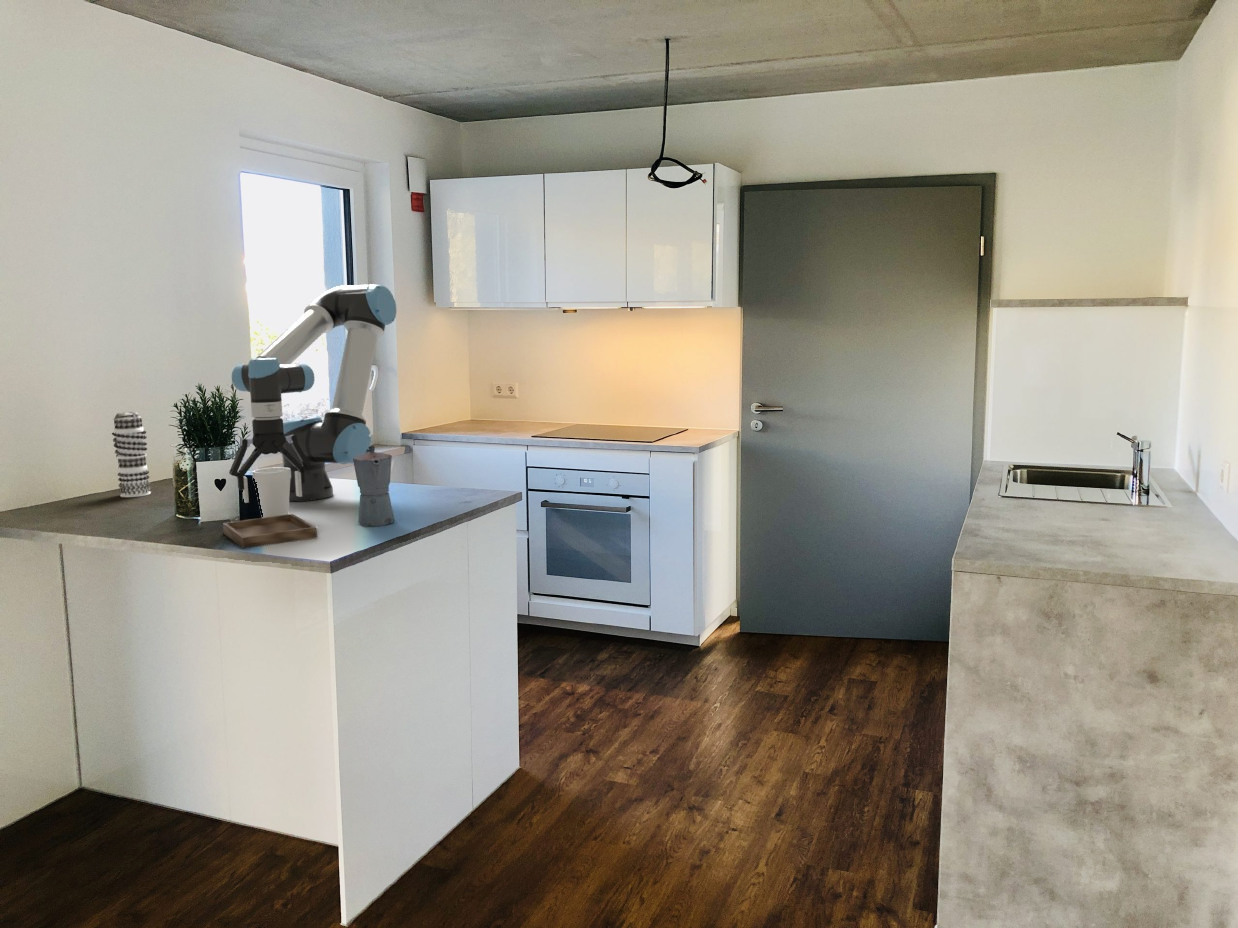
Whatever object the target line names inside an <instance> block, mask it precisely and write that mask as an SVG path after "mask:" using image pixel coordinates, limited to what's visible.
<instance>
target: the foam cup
mask: <svg viewBox="0 0 1238 928" xmlns="http://www.w3.org/2000/svg"><path fill="white" fill-rule="evenodd" d="M251 473H252V474H251V475H252V479H253V478H254V479H255V482H257V483H256V484H257V488H258V493H259V499H260V505H261V509H262V513H263V517H262V516H261V518H266V517H273V516H281V515H288V514H289V511H290V510H289V507H290V501H289V494H290V479H291V468H286V467H283V466H277V467H275V466H274V467H264V468H258V469H255V470H252V472H251Z"/></svg>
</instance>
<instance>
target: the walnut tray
mask: <svg viewBox="0 0 1238 928" xmlns="http://www.w3.org/2000/svg"><path fill="white" fill-rule="evenodd" d="M222 533H223V534H224V535H225V536H226V537H228V538H229V539H230V540H232V541H233V542H234V543H235V544H237V545H238V546H239V547H241V548H242V549H250V548H258V547H262V546H268V545H269V546H270V545H276V544H282V543H283V544H284V543H289V542H290V543H291V542H297V541H303V540H310V539H317V538H318V528H317V526H315V525H314V524H312V523H309V522H308V521H307V520H305V519H302V518H301V517H300V516H299V517H298V516H297V515H296V514H294V513H288V515H281V516H273V517H266V518H262V517H260V518H252V519H251V518H250V519H243V520H237V521H228V522H223V523H222Z"/></svg>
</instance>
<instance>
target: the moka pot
mask: <svg viewBox="0 0 1238 928" xmlns="http://www.w3.org/2000/svg"><path fill="white" fill-rule="evenodd" d="M368 448H369V449H367V450H366V454H362V455H358V456H356V457H355V458H353V462H354V463H353V467H354V471H355V477H356V482H357V486H358V488H359V494H360V496H359V506H358V519H357V523H358V524H359V525H360V526H363V527H382V526H387V525H390V524H392V523H394V522H395V516H394V510H393V506H392V502H391V496H390V493H389V491H390V488H389V487H390V484H391V471H392V459H393V457H392V455H391V454H388V453H383V452H377V451H376V450H375V448H376V447H375V445H370V447H368ZM375 451H376V452H375Z"/></svg>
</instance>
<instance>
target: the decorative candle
mask: <svg viewBox="0 0 1238 928" xmlns="http://www.w3.org/2000/svg"><path fill="white" fill-rule="evenodd" d="M142 419H143V416H140V414H139V413H138V412H136V411H127V412H126V411H125V412H118V413H116V414H115V416H114V418H112V420H113V425H114V428H113V429H114V432H112V433H111V435H112V436H113V437H114V438H113V439H112V441H113V442H114V443H113V447H114V448H116V449H115V450H114V453H115V454H116V456H115V458H116V459H117V463H118V469H117V470H118V473H117V476H118V477H119V478H118V479H117V480H118V481H119V482H120V483H118V487H119V492H118V493H120V495H119V496H120V497H121V498H136V497H137V498H138V497H144V496H148V495H151V493H152V491H150V490H151V486H150V485H151V482H150V480H149V479H150V476H149V475H148V474H149V473H150V471H149V470H148V465H147V459H146V457H147V456H148V454H147V453H146V451H147V450H148V448H147V447H145V446H146V445H147V444H148V443H147V442H145V440H146V439H147V435H145V434H147V431H146V430H145V429H144V426H143V420H142Z"/></svg>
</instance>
